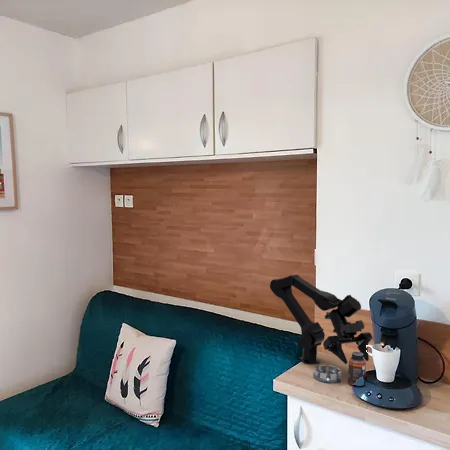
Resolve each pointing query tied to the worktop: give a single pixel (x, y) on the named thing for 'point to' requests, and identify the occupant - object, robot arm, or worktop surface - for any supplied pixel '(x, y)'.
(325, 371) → the ring collar
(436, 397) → the worktop surface
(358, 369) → the supplement bottle
